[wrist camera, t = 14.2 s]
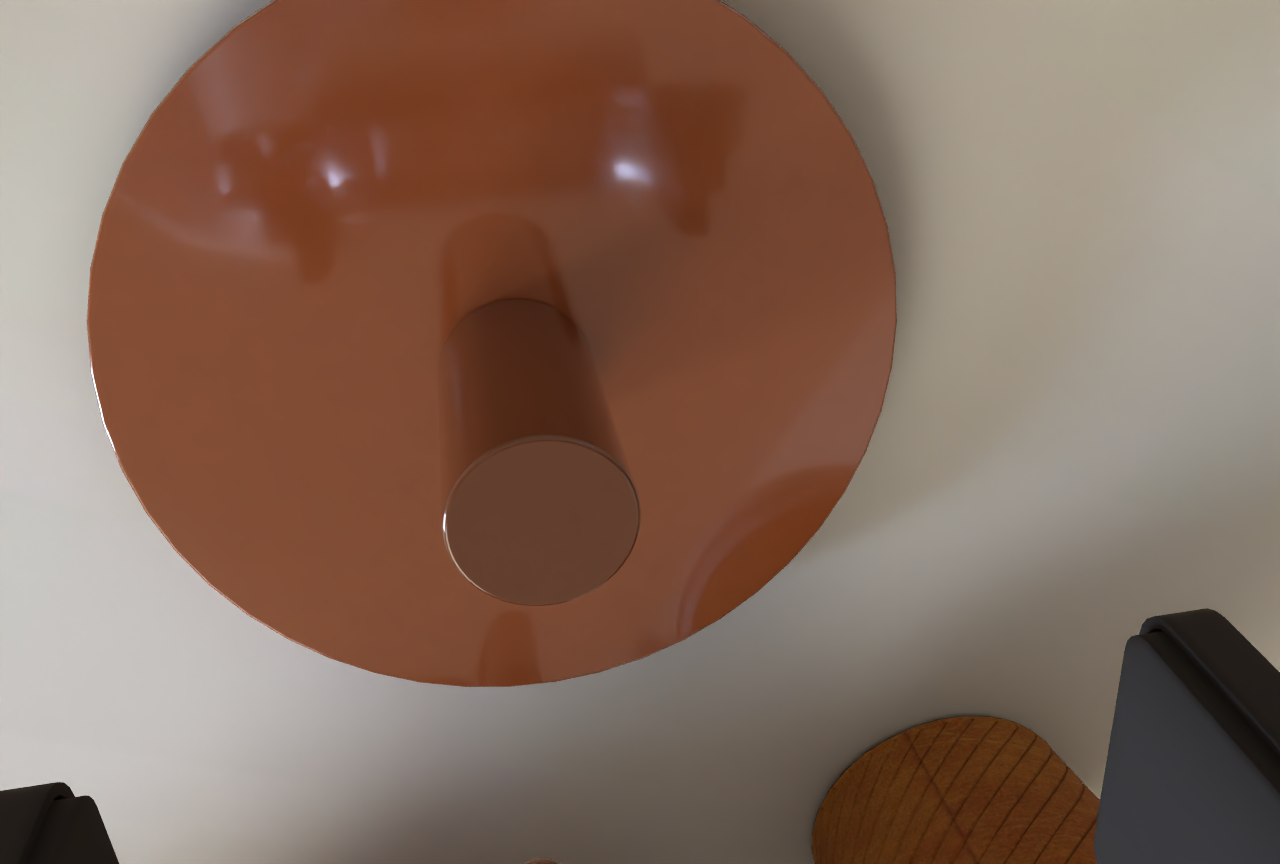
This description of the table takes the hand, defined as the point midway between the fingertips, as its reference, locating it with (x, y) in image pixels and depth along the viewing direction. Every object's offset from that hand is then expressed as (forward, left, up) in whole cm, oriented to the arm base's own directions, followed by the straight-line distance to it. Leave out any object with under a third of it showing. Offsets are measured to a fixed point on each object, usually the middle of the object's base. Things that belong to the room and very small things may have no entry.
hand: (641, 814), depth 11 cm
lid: (0, 0, -11) cm, 11 cm away
